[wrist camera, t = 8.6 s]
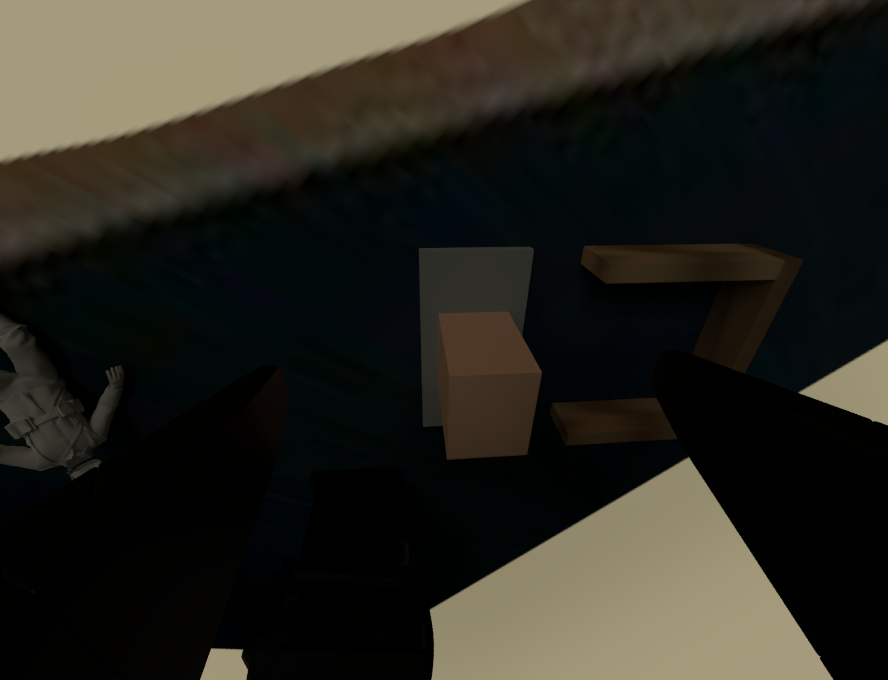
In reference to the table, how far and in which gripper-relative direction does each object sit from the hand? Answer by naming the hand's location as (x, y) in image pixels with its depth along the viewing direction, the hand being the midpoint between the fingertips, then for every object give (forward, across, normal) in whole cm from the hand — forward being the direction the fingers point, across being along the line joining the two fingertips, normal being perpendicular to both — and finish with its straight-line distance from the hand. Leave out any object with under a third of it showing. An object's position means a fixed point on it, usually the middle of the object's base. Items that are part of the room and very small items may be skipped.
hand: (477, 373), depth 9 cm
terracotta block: (+11, -2, +6) cm, 13 cm away
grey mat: (+12, -2, +6) cm, 14 cm away
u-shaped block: (+12, -13, +6) cm, 19 cm away
